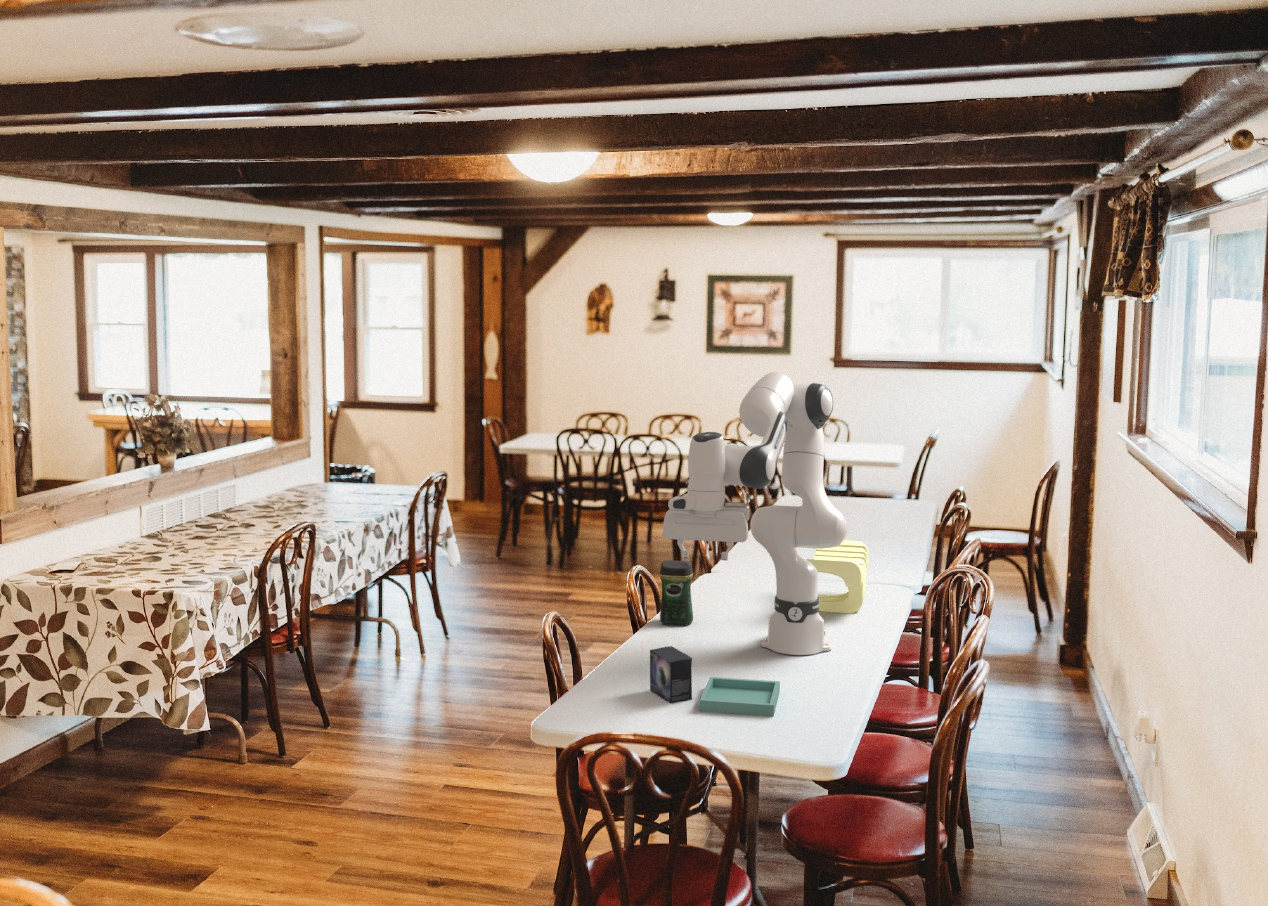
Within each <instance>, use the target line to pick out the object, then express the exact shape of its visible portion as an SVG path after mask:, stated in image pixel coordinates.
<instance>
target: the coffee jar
mask: <svg viewBox="0 0 1268 906" xmlns="http://www.w3.org/2000/svg"><path fill="white" fill-rule="evenodd" d="M693 576H694V571H693V564H692V562H691V561H689V560H688V561H687V560H673V559H672V560H667V559H665V560H664V561H662V562H661V564H660V571H659V578H660V581H661V599H660V611H659V622H660V623H661V624H663V625H666V626H678V627H680V626H682V627H683V626H688V625H691V624H692V623H693V620H694V612H693V603H692V594H691V593H692V591H691V588H692V587H691V586H692V585H691V584H692V583H691V582H692V579H693Z"/></svg>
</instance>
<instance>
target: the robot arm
mask: <svg viewBox="0 0 1268 906" xmlns="http://www.w3.org/2000/svg"><path fill="white" fill-rule="evenodd" d="M833 410H834V398H833V394H832V392H831V390H830V389H829V388H828V386H827V385H826V384H821V383H817V382H815V383H814V382H813V383H793V382H792V380H791V379H790V377H788V376H787V375H786V374H785V373H782V372H778V371H773V372H769V373H767V374H765V375H764V376H763V377H761V378H760V379H758V381H757V382H756V383H754V384H753V385H752V386H751V388H750V389H749V391H748V392H747V393H746V394H745V396H744V397H743V399H742V400H741V403H740V405H739V411H738V413H739V418H740V420H741V422H742V424H743V426H744V427H745V428H746V429H747V430H748V431H749V432H750V433H752V434H754V435H756V436H759V437H762V440H761V443H760V444H758V445H735V444H728V443H727V442H725V441H724V435H723V434H721V433H720V432H716V431H706V432H700V433H699V432H698V433H696V434H694V435H693V436H692V437H691V440H690V443H689V450H688V459H687V461H688V462H687V472H688V477H689V481H688V482H689V483H688V485H687V493H684V494H683V493H682V494H680V495H677V496H674V497H672V498H670V499H669V500H668V503H667V504H668V510H667V511H666V513H665V515H664V518H663V524H662V525H663V526H662V536H663V537H664V539H666V540H677V546H678V547H679V550H680V551H681V559H689V558H690V554H689V553H690V550H689V549H686V548H685V546H684V543H685V541H705V542H723V543H725V542H726V547H727V549H726V551H722V552H721V559H720V560H721V561H727V562H728V560H729V553H730V551H731V549H732V548H733V546H734V543H745V542H746V541H747V540H748V538H749V527H750V531H751V536H752V537H753V538H754V540H755V541H756V542H757V543H758V544H760V545H761V546H762V547H763V548H764V549H765V551H766V552H767V553H768V554H769V556H770V558H771V560H772V562H773V565H774V569H775V570H774V571H775V580H776V581H775V582H776V595H775V596H774V602H773V604H774V611H773V612H772V614H770V616H769V618H768V629H767V636H766V638H764V639H763V640H762V641H761V643H760V644H761V645H760V646H761V647H762V648H766V649H769V650H771V651H773V652H776V653H779V654H784V655H791V656H808V655H815V654H818V653H819V654H820V653H822V652H829V651H831V650H832V645H831V644H830V642H829V640H828V638H827V636H826V631H825V619H823V617H822V616H821V615H820V613H819V612H820V611H819V606H820V603H819V598H818V595H819V593H818V591H819V590H818V589H819V572H817V569H816V568H815V566H814V565H813V564H812V563H810V562H809V561H807V559H804V558H803V557H802V556H801V555H800V554H799V553H798V551H797V549H798V548H801V549H802V548H803V549H804V548H806V549H816V548H817V549H824V548H832V547H838V546H839V545H840V544H841V543H842V542H843V541H844V540H845V539H846V537H847V534H848V523H847V519H846V518H845V516H844V514H843V513H842V512H841V511H840V510H838V509H837V508H836V507H835V505H833V504H832V502H831V501H830V499H829V497H828V495H827V493H826V490H825V485H824V484H825V483H824V462H825V461H824V460H825V436H824V428H823V427H824V426H825V424H826V422H827V421H829V418H830V417H831V415H832V413H833ZM782 448H783V449H782ZM782 450H783V452H782V465H781V484H782V486H783V487H784V488H785V489H786V490H787V491H789V492H790V493H792V494H794V495H796V496H798V497H800V498H801V500H802V501H801V502H802V503H801V504H802V505H799V506H794V505H793V506H791V505H777V504H774V505H766V506H761V507H758V508H757V509H756V510H755V511H754V513H753V514H752V517H751V515H750V514H751V513H750V512H751V509H750V508H749V506H748V505H746V504H744V503H743V502H731V501H730V502H728V501H726V487H725V485H727V486H728V485H729V486H739V487H740V486H741V487H747V488H752V489H758V490H759V489H760V490H761V489H763V488H765V487H766V486H768V485H769V484H770V483H771V482H772V481H773V479H774V478H775V474H776V469H777V462H778V460H779V457H780V455H781V451H782ZM750 518H751V519H750ZM749 520H750V525H749V524H748V521H749Z"/></svg>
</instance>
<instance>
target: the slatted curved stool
mask: <svg viewBox="0 0 1268 906" xmlns="http://www.w3.org/2000/svg"><path fill="white" fill-rule="evenodd" d="M815 549H816V550H815V555H814V557H813V559H812V558H807V559H806V560H807V561H809V562H810V563H812V564H813V565H814V566H815V568H816V569H817V572H818V573H824V574H829V575H833V576H836V577H839V578H841V579H842V580H843V582H844V584H845V587H847V589H848V591H847V592H844V593H841V594H829V595H828V594H818V598H819V603H820V606H819V611H818V612H827V613H828V612H829V613H843V614H853V613H856V612H858V611H859V610H860V608H861V607H862V606H863V603H864V599H865V595H866V584H867V583H866V580H867V568H868V565H869V548H868V547H867V545H866V544H865V543H863V542H862V541H860V540H859V541H857V540H845V539H844V541H843V542H842V543H841V544H840V545H839V546H838V547H832V548H824V549H817V548H815Z"/></svg>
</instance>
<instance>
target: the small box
mask: <svg viewBox="0 0 1268 906" xmlns="http://www.w3.org/2000/svg"><path fill="white" fill-rule="evenodd" d="M692 667H693V657H691V656H690V655H688V654H686V653H685V652H683V651H681V650H679V649H677V648H676V647H673V646H672V645H670V646H664V647H659V648H652V649H649V691H650V692H652V693H654V694H656V695H657V696H658V697H660V698H661V699H663V700H664V701H666V702H667V703H668V704H675V703H680V702H681V703H682V702H685V701H691V700H693V690H692V689H693V685H692V684H693V678H692V677H693V675H692V674H693V672H692V670H693V669H692Z"/></svg>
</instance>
